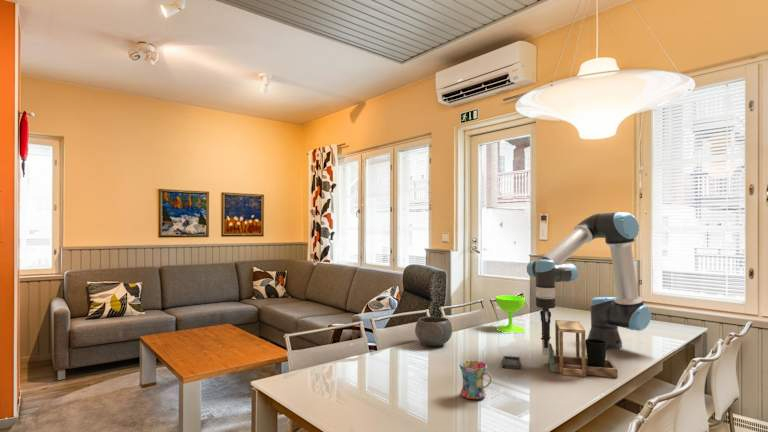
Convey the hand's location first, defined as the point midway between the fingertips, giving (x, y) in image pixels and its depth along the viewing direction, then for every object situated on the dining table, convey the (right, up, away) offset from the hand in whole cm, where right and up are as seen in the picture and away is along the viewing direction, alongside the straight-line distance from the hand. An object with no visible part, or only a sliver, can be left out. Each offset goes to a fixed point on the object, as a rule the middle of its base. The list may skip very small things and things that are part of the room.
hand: (545, 355), depth 175 cm
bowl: (-42, -6, +33) cm, 54 cm away
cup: (+18, -5, -6) cm, 19 cm away
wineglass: (+4, -7, +63) cm, 64 cm away
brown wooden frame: (+9, -5, -3) cm, 10 cm away
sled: (+13, -4, -4) cm, 14 cm away
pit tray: (-13, -5, +4) cm, 14 cm away
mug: (-35, -4, -31) cm, 47 cm away
